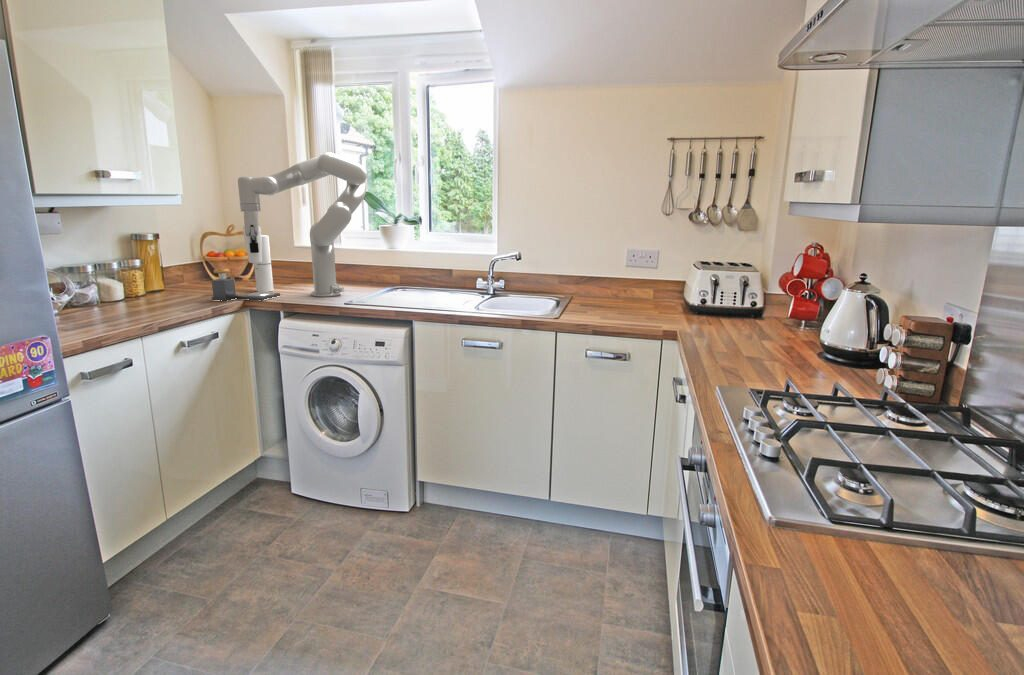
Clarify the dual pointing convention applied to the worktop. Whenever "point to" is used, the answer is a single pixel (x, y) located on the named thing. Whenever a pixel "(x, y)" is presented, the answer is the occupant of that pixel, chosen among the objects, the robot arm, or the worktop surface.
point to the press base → (227, 291)
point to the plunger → (222, 273)
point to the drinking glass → (258, 256)
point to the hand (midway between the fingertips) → (254, 251)
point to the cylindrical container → (264, 268)
